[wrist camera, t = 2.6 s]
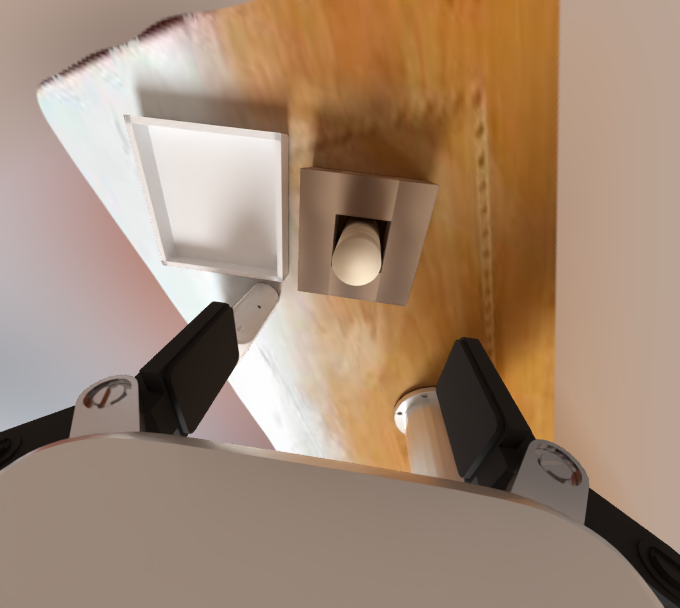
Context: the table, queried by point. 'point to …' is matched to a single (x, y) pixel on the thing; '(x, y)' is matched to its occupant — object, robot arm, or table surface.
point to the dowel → (358, 252)
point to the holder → (368, 202)
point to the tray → (215, 195)
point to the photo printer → (253, 314)
